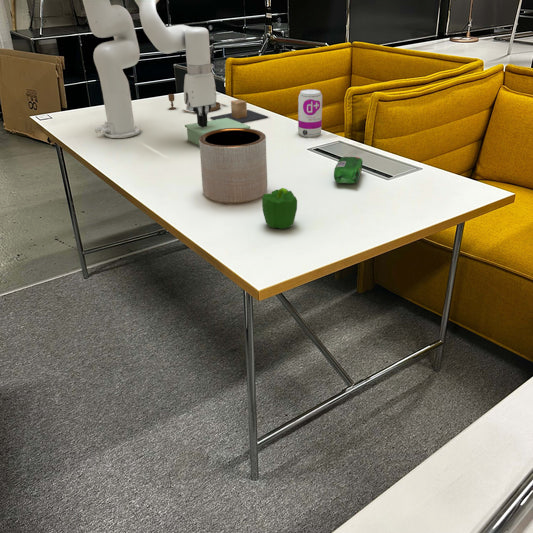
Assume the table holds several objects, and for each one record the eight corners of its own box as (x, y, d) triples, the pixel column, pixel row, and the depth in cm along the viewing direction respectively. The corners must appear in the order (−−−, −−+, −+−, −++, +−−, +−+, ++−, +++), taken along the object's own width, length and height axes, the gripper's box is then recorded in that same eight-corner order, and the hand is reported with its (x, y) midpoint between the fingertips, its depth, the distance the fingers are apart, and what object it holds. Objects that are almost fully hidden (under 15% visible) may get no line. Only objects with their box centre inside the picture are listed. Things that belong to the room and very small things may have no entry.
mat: (229, 125, 211) (229, 124, 211) (210, 118, 221) (210, 117, 221) (267, 117, 220) (267, 116, 220) (247, 110, 230) (247, 109, 230)
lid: (206, 136, 181) (206, 134, 181) (184, 127, 191) (184, 124, 191) (250, 128, 190) (250, 126, 190) (227, 119, 200) (227, 117, 200)
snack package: (330, 188, 155) (331, 170, 152) (339, 169, 168) (340, 152, 165) (356, 190, 153) (357, 172, 150) (363, 170, 166) (364, 154, 163)
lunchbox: (209, 152, 184) (208, 138, 182) (188, 142, 194) (186, 128, 192) (250, 142, 192) (250, 128, 190) (228, 133, 203) (227, 120, 200)
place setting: (204, 115, 225) (202, 100, 222) (167, 109, 235) (165, 95, 232) (229, 106, 238) (229, 91, 235) (193, 100, 247) (192, 87, 244)
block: (237, 118, 218) (237, 103, 215) (231, 116, 221) (230, 101, 218) (247, 116, 220) (246, 101, 217) (240, 114, 223) (240, 99, 220)
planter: (244, 210, 142) (241, 151, 135) (189, 197, 151) (184, 140, 143) (279, 188, 155) (279, 132, 148) (227, 177, 164) (224, 124, 156)
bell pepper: (259, 220, 137) (258, 181, 132) (291, 216, 139) (291, 178, 134) (267, 234, 130) (266, 194, 125) (300, 230, 132) (301, 191, 127)
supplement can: (321, 137, 196) (323, 94, 188) (298, 137, 196) (298, 94, 188) (320, 131, 203) (321, 88, 195) (297, 131, 203) (298, 89, 195)
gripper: (212, 64, 185) (215, 119, 194) (172, 70, 177) (177, 127, 186) (225, 68, 179) (227, 124, 189) (184, 74, 172) (188, 132, 181)
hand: (202, 125), depth 187 cm, fingers closed
